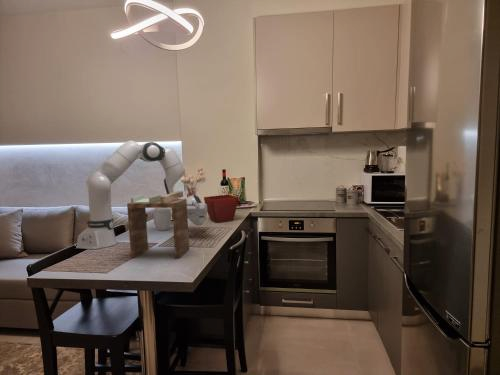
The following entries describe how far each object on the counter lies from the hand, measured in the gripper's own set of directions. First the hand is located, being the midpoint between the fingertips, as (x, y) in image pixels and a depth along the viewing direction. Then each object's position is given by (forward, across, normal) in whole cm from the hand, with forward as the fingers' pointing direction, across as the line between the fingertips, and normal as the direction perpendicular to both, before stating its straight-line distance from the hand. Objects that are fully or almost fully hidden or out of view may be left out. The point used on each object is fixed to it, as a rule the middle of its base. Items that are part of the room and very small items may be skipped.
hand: (184, 202), depth 187 cm
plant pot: (-61, +5, -10) cm, 62 cm away
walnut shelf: (+7, -6, +29) cm, 31 cm away
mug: (-38, -26, +4) cm, 46 cm away
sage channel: (+20, -12, +7) cm, 24 cm away
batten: (+17, 0, +5) cm, 18 cm away
